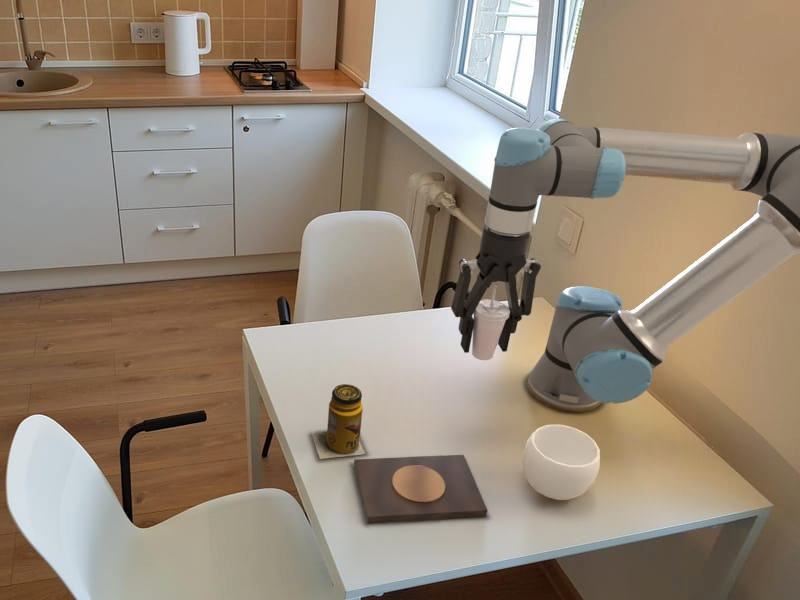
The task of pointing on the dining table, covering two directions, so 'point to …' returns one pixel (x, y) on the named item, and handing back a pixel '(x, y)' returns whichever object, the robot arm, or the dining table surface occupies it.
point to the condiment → (342, 424)
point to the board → (418, 488)
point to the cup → (561, 461)
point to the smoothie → (488, 326)
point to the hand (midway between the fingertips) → (483, 347)
